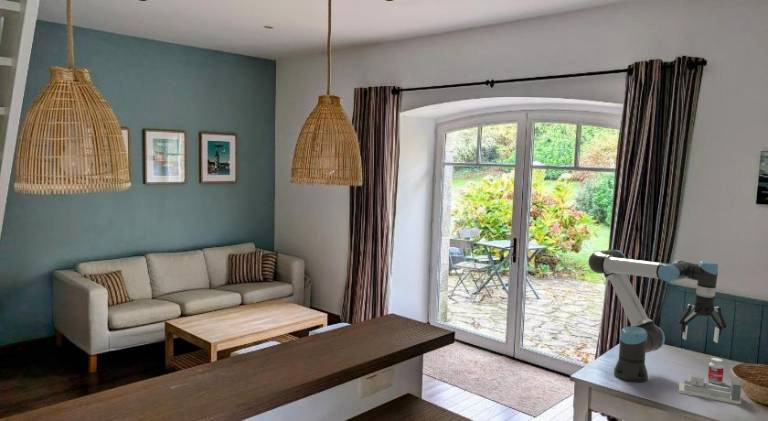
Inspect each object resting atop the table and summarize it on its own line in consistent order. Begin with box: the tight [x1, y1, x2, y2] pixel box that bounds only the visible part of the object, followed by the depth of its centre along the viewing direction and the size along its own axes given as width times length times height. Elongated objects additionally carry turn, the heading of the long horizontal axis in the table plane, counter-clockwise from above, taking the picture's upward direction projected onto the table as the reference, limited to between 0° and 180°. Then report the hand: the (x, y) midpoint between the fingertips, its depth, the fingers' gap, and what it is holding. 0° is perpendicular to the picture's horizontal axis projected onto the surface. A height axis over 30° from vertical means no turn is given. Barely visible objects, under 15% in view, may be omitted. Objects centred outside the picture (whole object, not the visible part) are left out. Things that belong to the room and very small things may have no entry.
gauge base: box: [678, 377, 742, 405], centre depth 257 cm, size 24×10×8 cm, turn 62°
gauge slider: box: [690, 373, 709, 387], centre depth 258 cm, size 7×7×6 cm
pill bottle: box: [707, 357, 725, 385], centre depth 273 cm, size 6×6×11 cm
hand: (699, 340), depth 263 cm, fingers open, 13 cm apart
